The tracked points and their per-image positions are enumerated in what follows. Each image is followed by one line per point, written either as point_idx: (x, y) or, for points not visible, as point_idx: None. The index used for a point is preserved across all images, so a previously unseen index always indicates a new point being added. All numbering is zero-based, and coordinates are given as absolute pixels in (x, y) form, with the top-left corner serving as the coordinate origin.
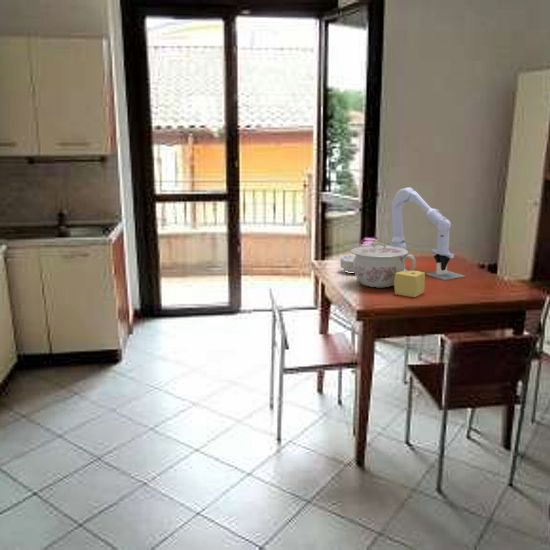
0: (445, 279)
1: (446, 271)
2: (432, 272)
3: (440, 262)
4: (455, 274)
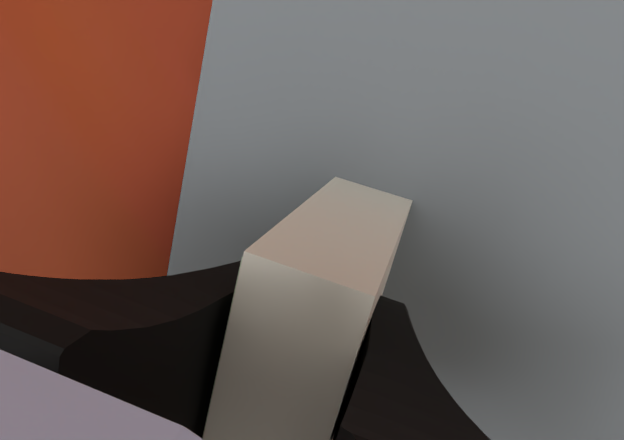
0: None
1: (404, 220)
2: (172, 273)
3: (220, 412)
4: (593, 110)
